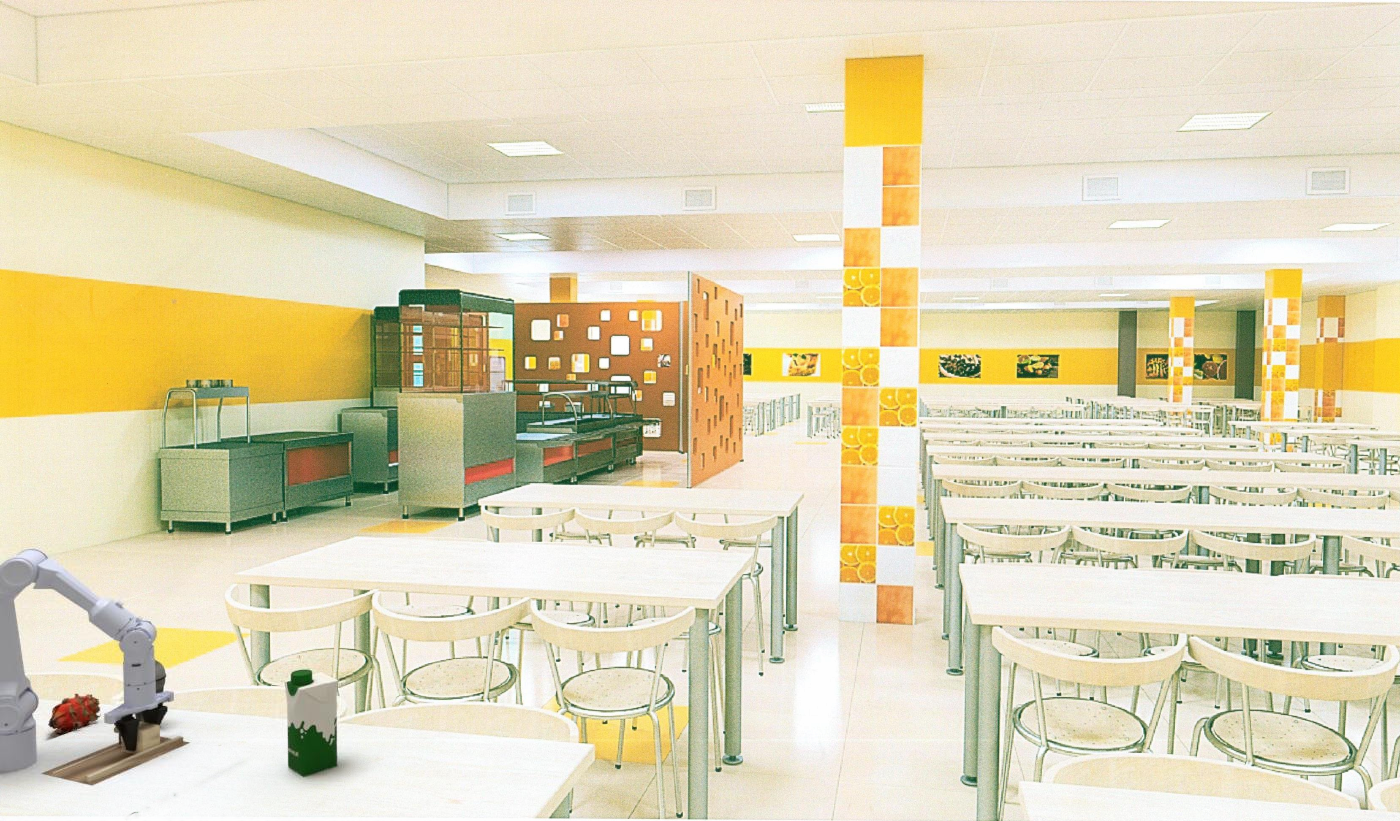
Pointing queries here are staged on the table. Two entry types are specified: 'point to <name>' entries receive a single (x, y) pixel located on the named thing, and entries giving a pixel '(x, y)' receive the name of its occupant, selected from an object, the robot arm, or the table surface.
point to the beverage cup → (160, 683)
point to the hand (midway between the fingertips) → (141, 745)
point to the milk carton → (311, 721)
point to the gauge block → (143, 737)
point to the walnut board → (111, 762)
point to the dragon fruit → (74, 713)
